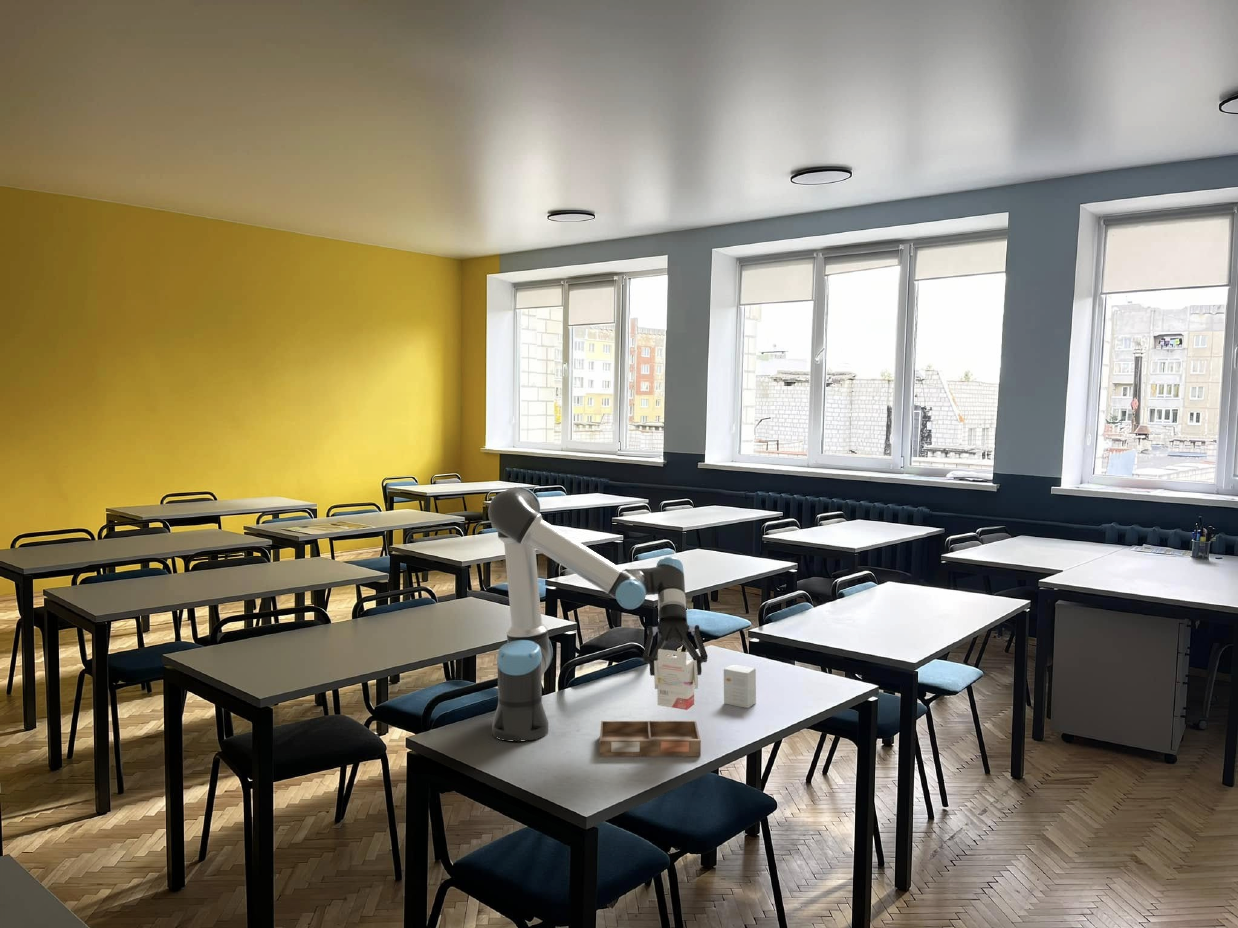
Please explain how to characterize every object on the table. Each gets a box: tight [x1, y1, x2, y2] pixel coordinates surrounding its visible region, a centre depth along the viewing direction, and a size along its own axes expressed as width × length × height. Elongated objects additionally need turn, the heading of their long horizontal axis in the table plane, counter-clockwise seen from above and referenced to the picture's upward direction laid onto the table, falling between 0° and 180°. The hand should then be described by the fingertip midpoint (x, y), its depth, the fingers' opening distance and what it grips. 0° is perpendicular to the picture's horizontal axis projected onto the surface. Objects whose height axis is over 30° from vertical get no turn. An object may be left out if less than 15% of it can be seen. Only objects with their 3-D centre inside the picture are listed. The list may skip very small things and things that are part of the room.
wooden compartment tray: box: [599, 720, 702, 757], centre depth 215 cm, size 25×14×4 cm, turn 90°
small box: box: [723, 664, 757, 709], centre depth 247 cm, size 8×6×10 cm
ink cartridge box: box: [656, 648, 695, 711], centre depth 215 cm, size 9×5×15 cm, turn 62°
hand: (676, 686), depth 212 cm, fingers closed on ink cartridge box, 9 cm apart
